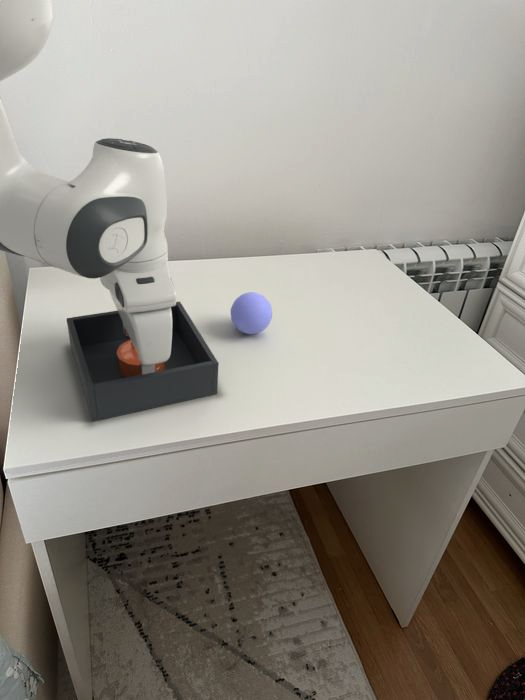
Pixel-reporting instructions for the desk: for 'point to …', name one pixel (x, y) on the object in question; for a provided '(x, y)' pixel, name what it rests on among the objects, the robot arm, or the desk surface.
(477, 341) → the desk surface
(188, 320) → the tub
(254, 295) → the sphere
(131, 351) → the orange short cylinder
